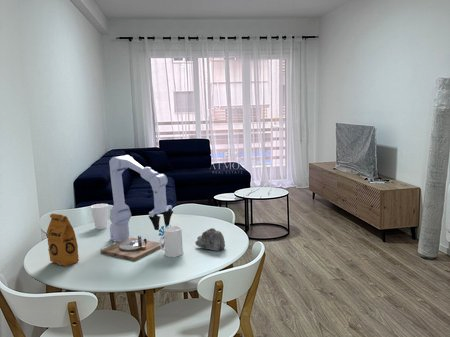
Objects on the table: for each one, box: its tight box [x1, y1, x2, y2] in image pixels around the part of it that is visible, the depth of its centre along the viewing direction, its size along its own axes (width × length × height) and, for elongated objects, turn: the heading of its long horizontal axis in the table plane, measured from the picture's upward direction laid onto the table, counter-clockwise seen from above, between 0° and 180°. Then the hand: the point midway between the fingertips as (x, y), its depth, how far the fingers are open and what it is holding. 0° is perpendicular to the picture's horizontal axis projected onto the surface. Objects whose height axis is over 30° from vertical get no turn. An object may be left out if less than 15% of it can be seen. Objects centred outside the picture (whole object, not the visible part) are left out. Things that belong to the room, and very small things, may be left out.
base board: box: [99, 236, 165, 262], centre depth 188 cm, size 22×20×4 cm
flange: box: [119, 235, 146, 251], centre depth 187 cm, size 14×12×6 cm
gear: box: [158, 224, 172, 240], centre depth 200 cm, size 11×6×10 cm
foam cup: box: [90, 203, 109, 230], centre depth 225 cm, size 10×9×13 cm
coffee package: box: [46, 213, 80, 267], centre depth 174 cm, size 10×12×22 cm
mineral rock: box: [194, 227, 226, 252], centre depth 186 cm, size 13×11×10 cm
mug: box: [159, 225, 184, 258], centre depth 179 cm, size 12×8×12 cm
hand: (162, 227), depth 188 cm, fingers open, 7 cm apart
